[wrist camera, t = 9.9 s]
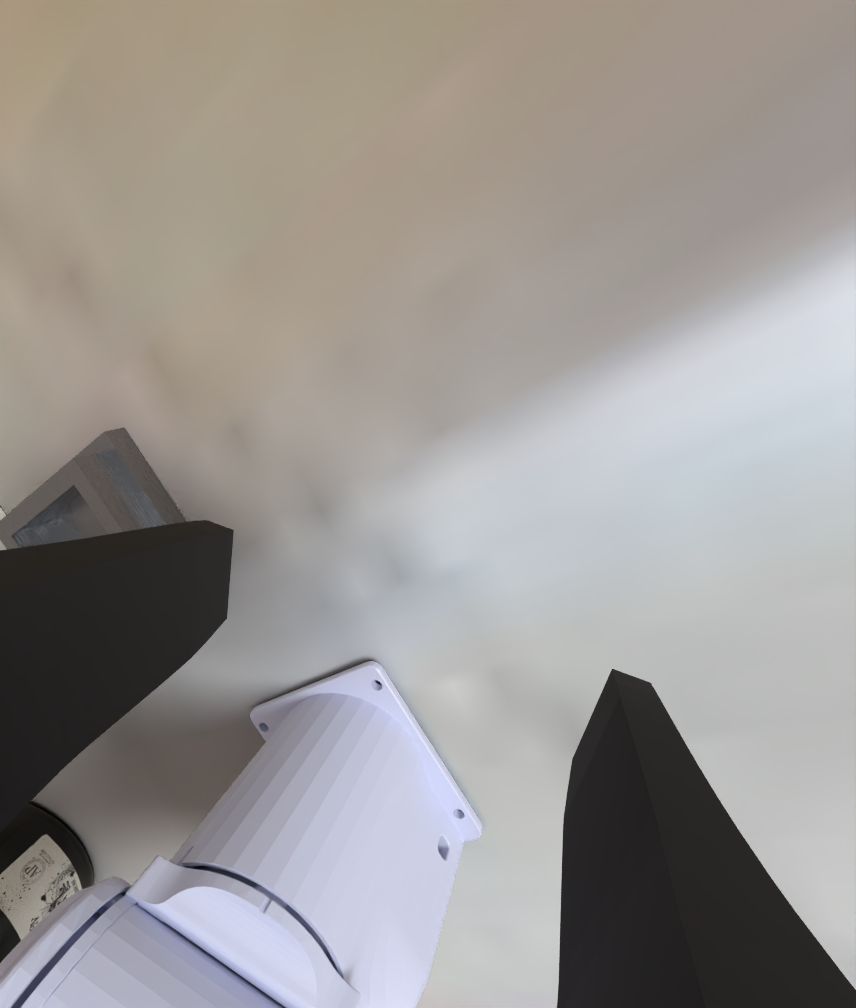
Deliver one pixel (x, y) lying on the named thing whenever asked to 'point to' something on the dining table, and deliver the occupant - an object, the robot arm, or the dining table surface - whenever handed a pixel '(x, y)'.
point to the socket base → (92, 497)
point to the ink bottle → (36, 872)
